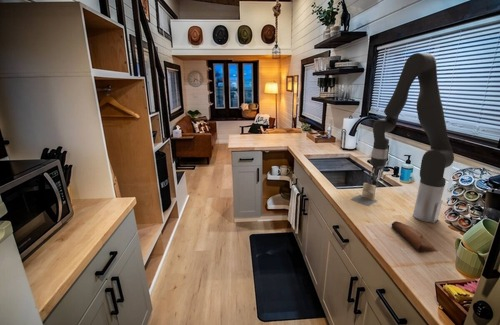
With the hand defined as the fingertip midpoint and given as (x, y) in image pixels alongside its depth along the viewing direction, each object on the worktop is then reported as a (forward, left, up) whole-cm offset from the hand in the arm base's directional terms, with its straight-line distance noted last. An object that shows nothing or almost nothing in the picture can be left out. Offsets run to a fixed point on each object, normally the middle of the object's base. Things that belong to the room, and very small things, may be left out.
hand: (374, 186), depth 142 cm
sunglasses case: (-30, +28, -6) cm, 42 cm away
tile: (0, +6, -5) cm, 8 cm away
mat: (0, +11, -6) cm, 12 cm away
